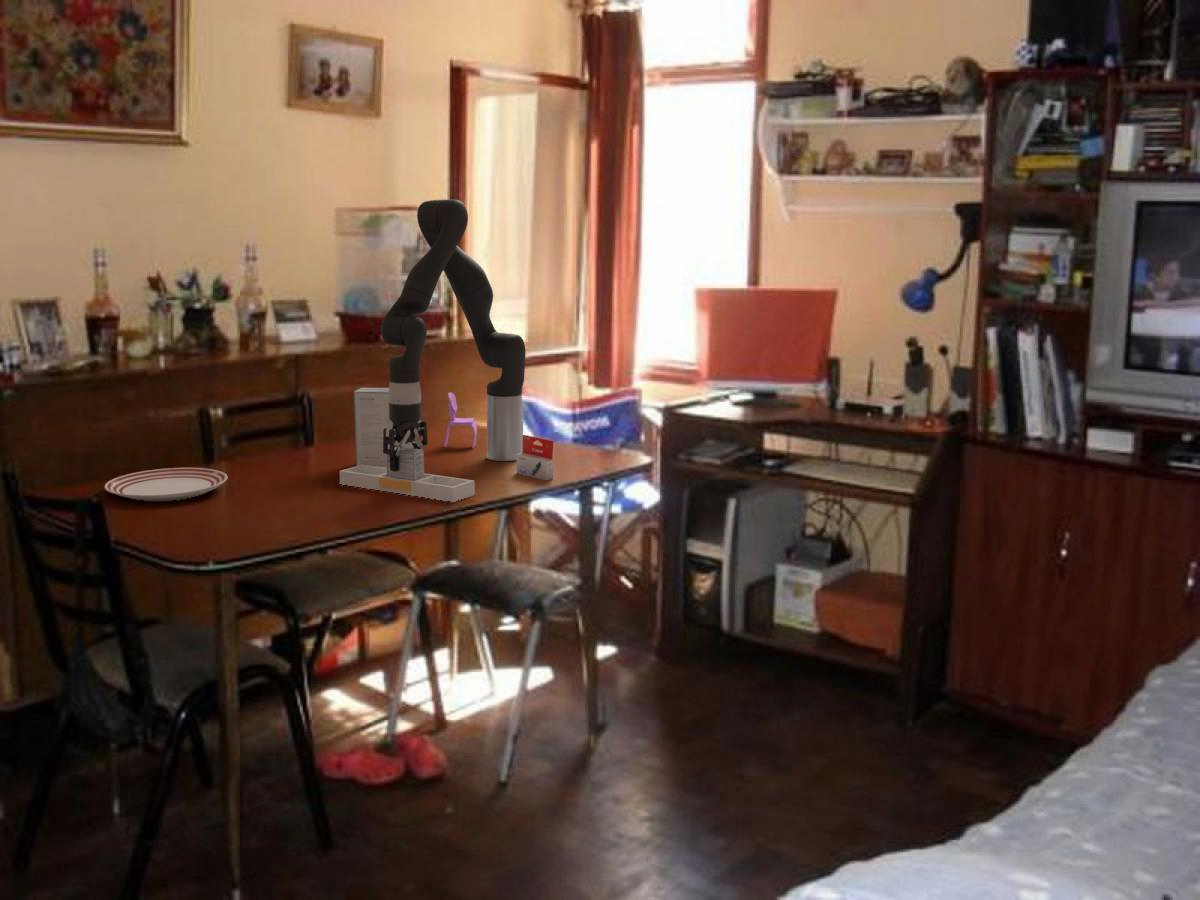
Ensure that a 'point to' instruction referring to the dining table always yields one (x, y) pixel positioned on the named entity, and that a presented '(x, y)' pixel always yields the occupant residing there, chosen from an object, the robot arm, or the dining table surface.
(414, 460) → the medicine box
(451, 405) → the toy chair
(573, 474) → the dining table surface
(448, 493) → the compartment tray
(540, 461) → the ink cartridge box
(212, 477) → the dinner plate
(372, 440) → the hard drive box
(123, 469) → the dining table surface
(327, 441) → the dining table surface
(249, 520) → the dining table surface
